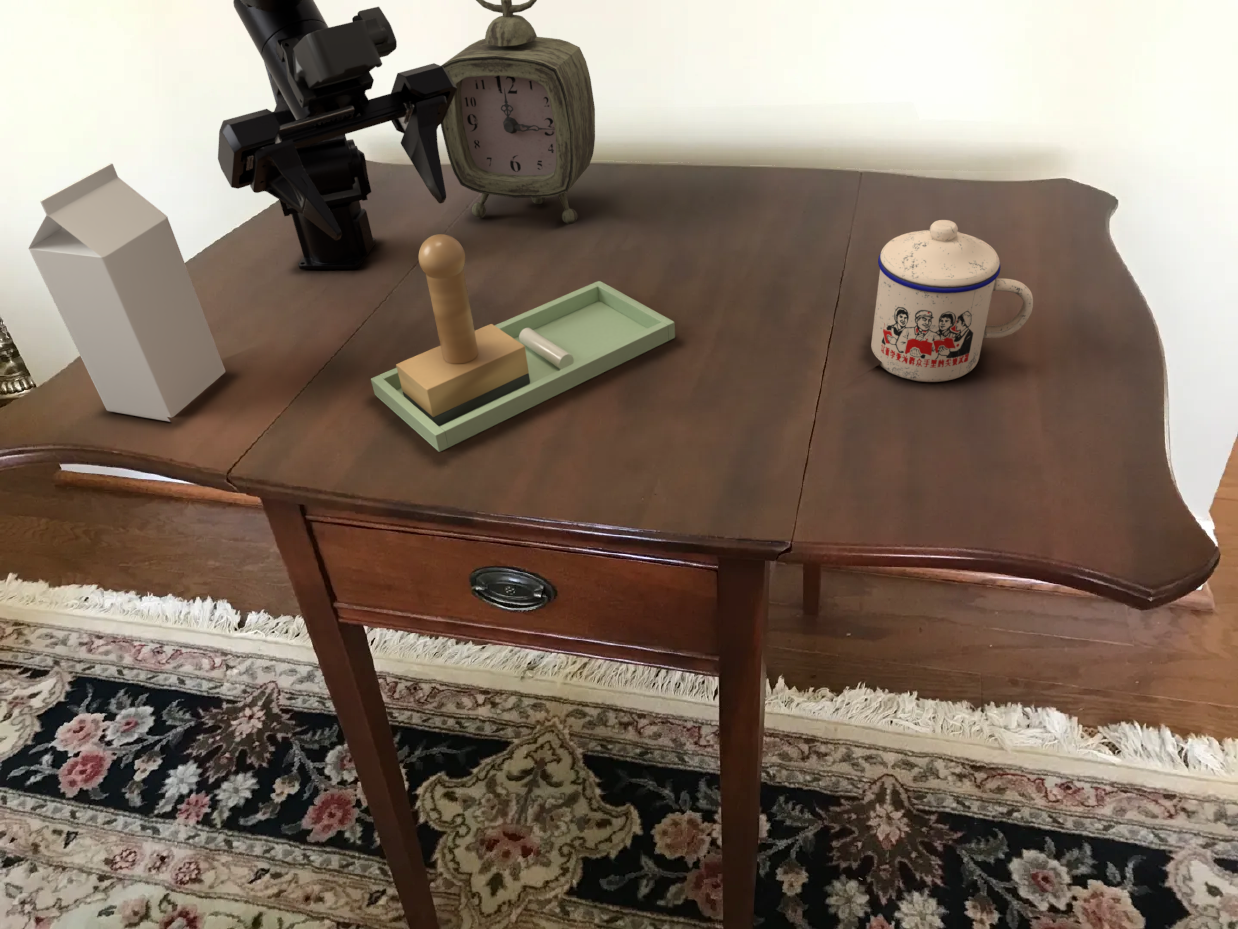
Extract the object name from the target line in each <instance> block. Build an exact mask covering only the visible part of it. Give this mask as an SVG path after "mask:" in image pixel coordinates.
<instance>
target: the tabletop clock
mask: <svg viewBox="0 0 1238 929" xmlns="http://www.w3.org/2000/svg"><path fill="white" fill-rule="evenodd" d="M475 1H476V2H477V3H478V4H479V5H480V6H481V7H482V8H484V9H486V10H489V11H490V12H495V13H499V14H502V15H499V16H498V17H495V18H494V19H493V20H491V22H490V24H489V25H488V26H487V29H486V30H485V36H484V38H481V39H479V40H477V41H474V42H472V43H471V44H469V45H468V46H466V47H465V48H464V49H462V50H461V51H459V52H458V53H457V54H455V55H454V56H452V57H451V58H450V59H448V60H446V61H445V62H444V63H442V64H441V65H440V66H442V67H443V68H444V69H446V70H447V71H448V73H449V75H450V76H451V78H452V80H453V82H454V84H455V85H456V87H457V90H456V93H455V95H454V97H453V100H452V102H451V104H450V107H449V109H448V111H447V114H446V116H445V118H444V120H443V123H441V124H440V129H441V133H442V136H443V140H444V141H443V142H444V145H445V149H446V153H447V156H448V157H447V158H448V160H449V163H450V166H451V168H452V171H453V174H454V176H455V177H456V179H457V181H458V182H459V184H460V186H462V187H464V188H466V189H468V190H470V191H472V192H476V193H480V194H481V197H480V200H479V201H477V202H474V203H473V205H472V206H471V213H472V215H473V216H474V217H475V218H483V217H485V215H486V213H487V207H486V205H485V204H486V202H487V200H488V198H489V197H490V195H492V196H498V197H499V196H500V197H505V198H513V199H529V198H531V201H532V202H533V203H534V204H536V205H542V204H544V202H545V200H546V199H547V198H552V197H553V198H554V197H558V198H559V201H560V203H561V205H562V207H563V209H564V210H563V212H562V214H561V219H562V221H563V222H564V223H565V224H567V225H572V224H574V223H575V222H576V221H577V219H578V213H577V211H576V210H575V209H573V208H570V205H569V203H568V198H567V193H568V192H569V191H570V190H571V188H572V187H573V186H574V185H575V183H576V182H577V181H578V180H579V178H581V176H582V175H583V174H584V173H585V171H586V170H587V169H588V167H589V166H590V165H591V162H592V158H593V155H594V150H595V141H596V107H595V100H594V94H593V86H592V79H591V74H590V71H589V66H588V63H587V60H586V57H585V56H584V54H583V52H582V50H581V47H580V46H578V45H577V44H576V45H575V44H574V43H571V42H569V41H567V40H563V39H560V38H553V37H543V36H538V35H537V33H536V30H535V29H534V27H533V26H532V23H530V22H529V21H528V19H526V18H525V17H524V16H523V15H519V14H517V13H521V12H524V11H526V10H529V9H531V8H532V7H533V6H534V5H535V4H536V2H537V1H538V0H528V1H526V2H523V3H520V4H513V2H512V0H500V4H495V3H492V2H488V1H486V0H475Z"/></svg>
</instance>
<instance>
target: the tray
mask: <svg viewBox="0 0 1238 929" xmlns="http://www.w3.org/2000/svg"><path fill="white" fill-rule="evenodd" d="M675 324H676V323H675V321H674V320H672V319H670V318H668V317H667V316H664V315H663V314H661V313H659V312H657V311H655V310H654V309H652V308H650V307H648V306H647V305H645V304H643V303H641V302H640V301H637V300H636V299H634V298H632V297H630V296H628V295H626V294H625V293H623V292H621V291H619V290H617V289H616V288H614V287H612V286H610V285H608V284H606V283H605V282H603V281H601V280H597V281H595V282H593V283H590V284H587V285H586V286H583V287H581V288H579V289H577V290H574V291H572V292H569V293H567V294H565V295H562V296H560V297H558V298H555V299H552V300H551V301H548V302H546V303H544V304H542V305H539V306H537V307H535V308H532V309H529V310H528V311H525V312H522V313H521V314H518V315H515V316H514V317H511V318H509V319H506V320H504V321H502V322H499V323H497V324H495V325H494V326H496V327H497V328H499V329H500V330H502V331H503V332H505V333H506V334H508V335H509V336H511V337H512V338H514V339H515V340H517V341H518V342H520V341H519V335H520V332H521V331H522V330H523V329H525V328H531V329H532V330H534V331H535V332H537V333H539V334H540V335H542V336H543V337H545V338H546V339H548V340H549V341H551V342H552V343H554V344H555V345H557V346H559V347H560V348H562V349H563V350H565V351H566V352H568V353H569V354H571V355H572V356H573V358H574V362H573V364H572V365H570V366H568V367H565V368H563V369H559V368H558V367H556V366H555V365H553V364H552V363H550V362H549V361H547V360H546V359H544V358H543V357H541V356H540V355H538V354H537V353H535V352H534V351H532V350H531V349H530V348H528V347H527V346H525V345H524V344H523V345H524V346H525V350H526V357H527V364H528V371H529V378H530V384H527V385H525V386H523V387H521V388H519V389H517V390H515V391H513V392H510V393H508V394H506V395H504V396H502V397H500V398H498V399H496V400H493V401H491V402H489V403H487V404H485V405H483V406H481V407H479V408H476V409H474V410H472V411H470V412H468V413H466V414H464V415H462V416H460V417H457V418H455V419H453V420H451V421H449V422H447V423H445V424H443V425H440V426H438V425H436V424H435V423H434V422H433V421H432V420H431V419H429V418H428V417H427V416H426V415H425V414H424V413H423V412H421V411H420V410H419V409H418V408H417V407H416V406H414V405H413V404H412V403H411V402H410V401H409V400H407V399H406V398H405V397H404V395H403V391H402V387H401V383H400V379H399V375H398V371H397V367H395V368H392V369H390V370H387V371H385V372H383V373H381V374H378V375H376V376H374V377H372V378H370V382H371V386H372V389H373V393H374V396H376V398H378V399H379V400H380V401H381V402H382V403H383V404H385V405H386V406H387V407H388V408H389V409H390V410H391V411H392V412H394V413H395V414H396V415H397V416H398V417H399V418H401V420H403V421H404V422H405V423H406V424H407V425H408V426H409V427H410V428H411V429H413V430H414V431H415V432H416V433H417V434H418V435H419V436H421V437H422V438H423V439H424V440H425V441H426V442H427V443H428V444H430V446H432V447H433V448H434V449H435V450H436V451H437V452H439V453H440V452H442V451H444V450H446V449H448V448H451V447H452V446H455V445H457V444H459V443H462V442H463V441H465V440H467V439H469V438H472V437H473V436H476V435H477V434H479V433H482V432H483V431H486V430H488V429H490V428H492V427H493V426H496V425H499V424H500V423H502V422H504V421H507V420H508V419H510V418H512V417H515V416H517V415H519V414H521V413H522V412H524V411H527V410H528V409H531V408H534V407H535V406H537V405H539V404H541V403H543V402H545V401H547V400H549V399H552V398H553V397H555V396H558V395H560V394H562V393H564V392H566V391H568V390H570V389H572V388H574V387H576V386H578V385H580V384H582V383H584V382H586V381H589V380H591V379H593V378H595V377H597V376H599V375H601V374H603V373H604V372H607V371H609V370H612V369H613V368H615V367H618V366H620V365H622V364H624V363H626V362H628V361H630V360H632V359H634V358H636V357H639V356H640V355H642V354H645V353H646V352H649V351H651V350H652V349H654V348H656V347H658V346H661V345H663V344H665V343H667V342H669V341H671V340H673V339H675V338H676V327H675V326H676V325H675ZM520 343H521V342H520ZM521 344H522V343H521Z"/></svg>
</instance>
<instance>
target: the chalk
mask: <svg viewBox="0 0 1238 929" xmlns="http://www.w3.org/2000/svg"><path fill="white" fill-rule="evenodd" d="M519 341H520V342H521V343H522V344H524V345H525V346H527V347H528V348H530V349H531V350H532V351H534V352H535V353H537V354H538V355H540V356H541V357H543V358H544V359H546V360H547V361H549V362H550V363H552V364H553V365H555V366H556V367H558V368H559V369H563V368H565V367H568V366H570V365H572V364H573V362H574V358H573V356H572V355H571V354H569V353H568V352H566V351H565V350H563V349H562V348H560V347H559V346H557V345H555V344H554V343H552V342H551V341H549V340H548V339H546V338H545V337H543V336H542V335H540V334H539V333H537V332H535V331H534V330H532V329H531V328H525V329H523V330H522V331H521V332H520V335H519Z"/></svg>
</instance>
